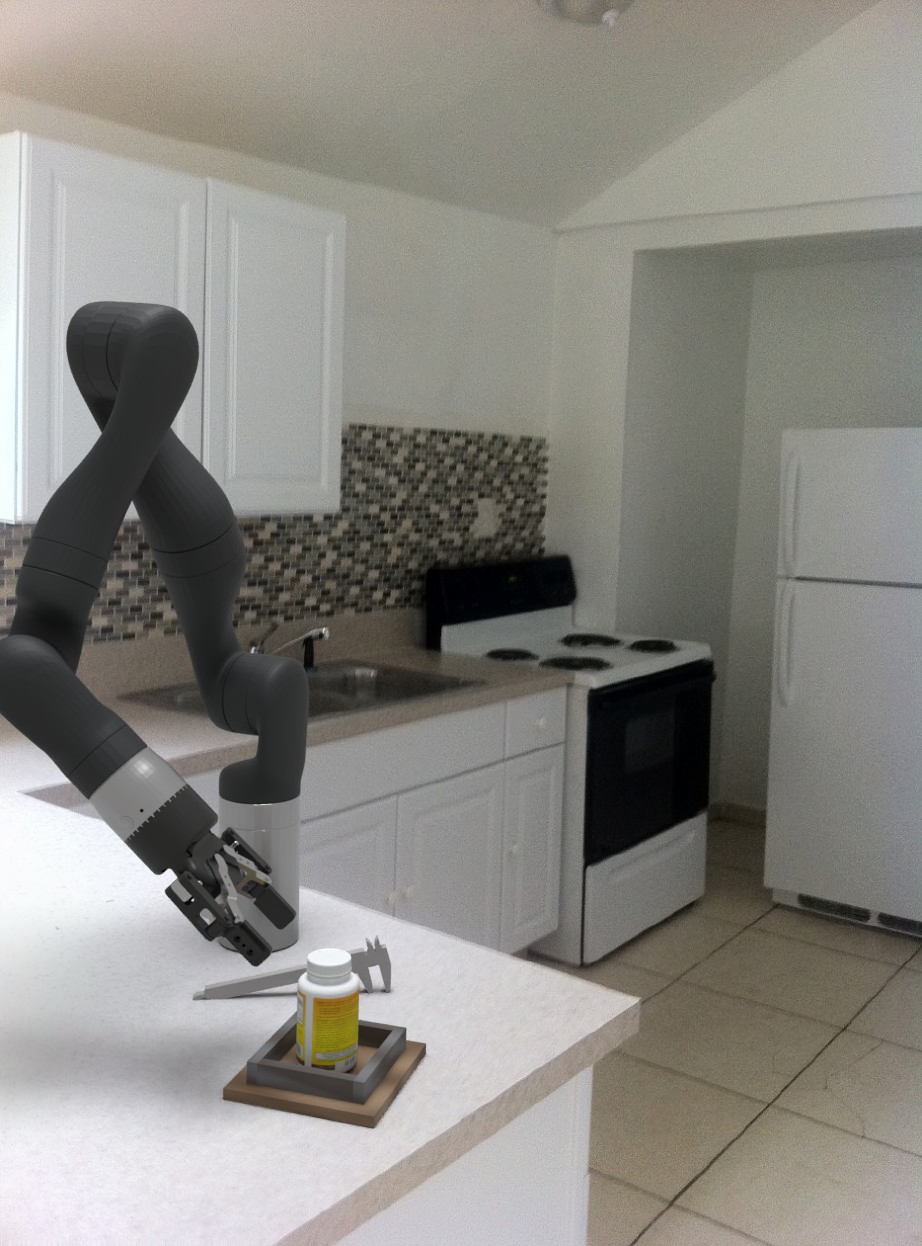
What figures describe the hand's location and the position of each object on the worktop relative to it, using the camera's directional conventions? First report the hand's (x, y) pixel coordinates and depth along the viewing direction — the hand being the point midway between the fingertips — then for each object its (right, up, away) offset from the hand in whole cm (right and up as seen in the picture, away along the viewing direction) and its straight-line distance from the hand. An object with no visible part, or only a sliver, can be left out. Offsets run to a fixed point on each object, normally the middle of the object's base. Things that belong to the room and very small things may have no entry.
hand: (277, 940), depth 113 cm
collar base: (+5, -13, +1) cm, 13 cm away
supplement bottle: (+4, -12, +1) cm, 13 cm away
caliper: (-1, -11, +18) cm, 21 cm away
